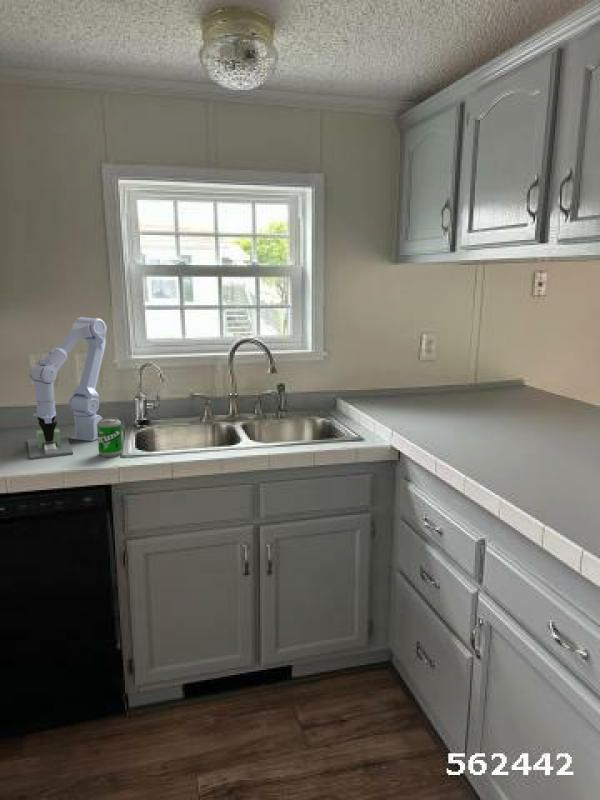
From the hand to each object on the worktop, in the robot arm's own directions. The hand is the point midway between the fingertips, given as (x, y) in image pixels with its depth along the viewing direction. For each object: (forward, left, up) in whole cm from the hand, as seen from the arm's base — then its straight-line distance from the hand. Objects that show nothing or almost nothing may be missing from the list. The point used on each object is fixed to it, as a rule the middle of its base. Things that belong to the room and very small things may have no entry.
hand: (48, 438), depth 189 cm
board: (0, 0, -3) cm, 3 cm away
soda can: (-24, 0, -3) cm, 24 cm away
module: (0, 0, -2) cm, 2 cm away
